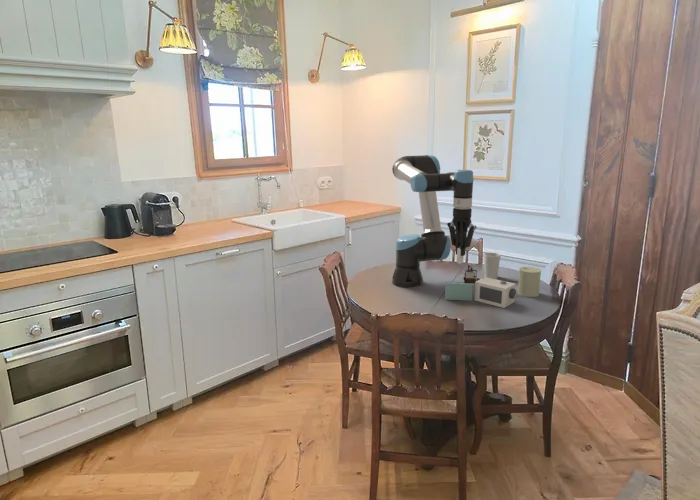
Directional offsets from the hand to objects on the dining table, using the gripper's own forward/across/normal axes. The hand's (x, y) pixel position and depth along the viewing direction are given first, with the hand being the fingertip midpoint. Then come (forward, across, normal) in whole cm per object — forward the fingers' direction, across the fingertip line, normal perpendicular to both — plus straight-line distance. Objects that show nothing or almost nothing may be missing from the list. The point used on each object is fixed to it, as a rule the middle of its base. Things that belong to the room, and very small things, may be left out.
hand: (460, 262), depth 195 cm
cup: (+18, -7, +41) cm, 45 cm away
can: (+18, +17, +30) cm, 39 cm away
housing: (+18, +11, +11) cm, 24 cm away
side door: (+18, -1, +2) cm, 18 cm away
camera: (+18, -6, +21) cm, 29 cm away
